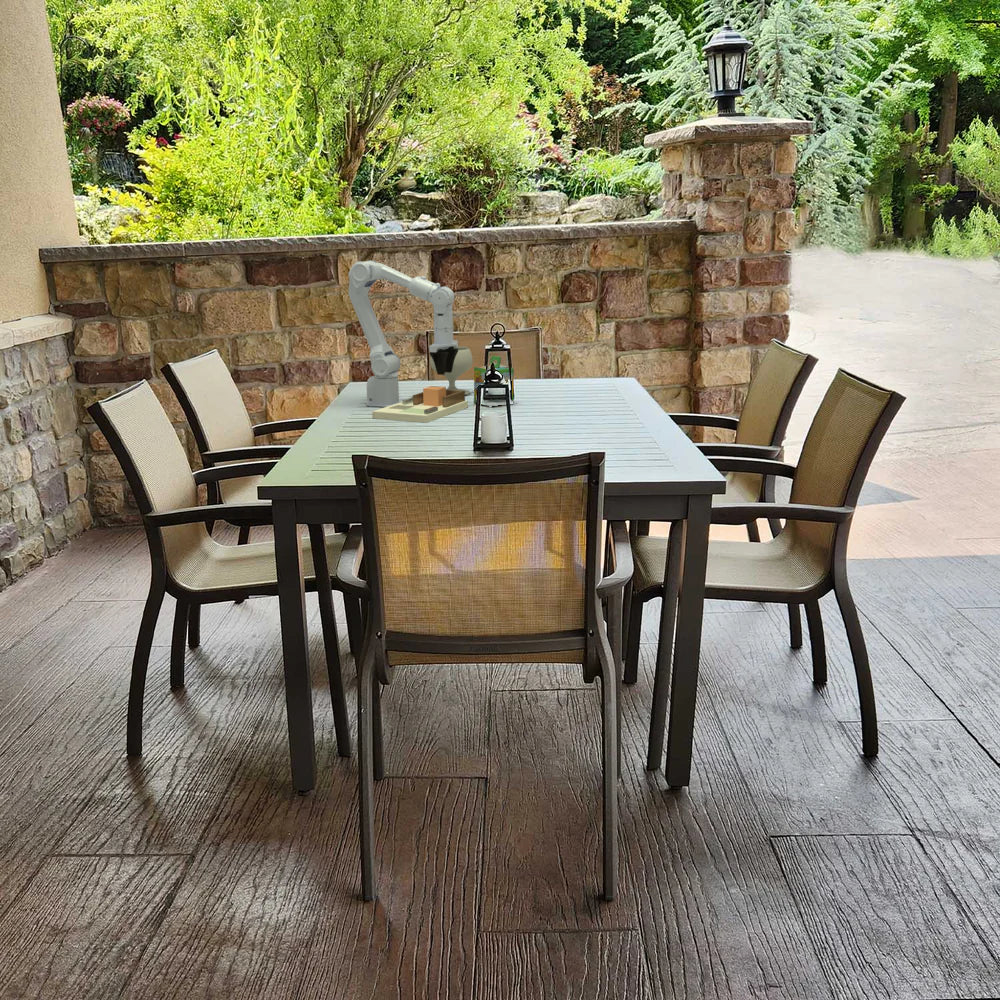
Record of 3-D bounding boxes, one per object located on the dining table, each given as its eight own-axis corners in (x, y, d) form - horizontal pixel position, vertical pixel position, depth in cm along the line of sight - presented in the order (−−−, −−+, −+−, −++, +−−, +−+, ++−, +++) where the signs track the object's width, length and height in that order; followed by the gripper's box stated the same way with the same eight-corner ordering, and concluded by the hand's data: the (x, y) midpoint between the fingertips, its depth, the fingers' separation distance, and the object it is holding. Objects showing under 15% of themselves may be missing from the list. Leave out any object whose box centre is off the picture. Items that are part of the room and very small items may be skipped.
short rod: (424, 414, 286) (424, 409, 286) (434, 410, 291) (434, 406, 291) (427, 414, 286) (427, 410, 285) (437, 410, 291) (437, 406, 291)
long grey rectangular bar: (402, 404, 302) (402, 400, 302) (417, 399, 310) (417, 395, 309) (411, 404, 301) (411, 401, 300) (426, 400, 308) (426, 396, 308)
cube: (423, 405, 300) (423, 388, 299) (431, 402, 304) (431, 386, 303) (438, 406, 298) (437, 389, 297) (446, 403, 302) (445, 387, 301)
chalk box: (473, 404, 313) (472, 356, 309) (496, 400, 318) (496, 353, 314) (491, 408, 306) (490, 359, 302) (514, 404, 311) (514, 356, 307)
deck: (372, 418, 292) (372, 411, 291) (416, 403, 314) (416, 397, 314) (426, 422, 284) (426, 415, 284) (468, 407, 307) (467, 400, 306)
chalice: (426, 392, 335) (425, 347, 331) (467, 389, 339) (466, 345, 335) (436, 398, 322) (435, 352, 318) (478, 396, 326) (477, 349, 322)
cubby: (413, 405, 300) (412, 395, 300) (433, 398, 311) (433, 388, 310) (445, 407, 296) (445, 397, 295) (465, 400, 307) (464, 390, 306)
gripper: (443, 331, 293) (444, 377, 297) (466, 326, 306) (467, 370, 309) (422, 330, 296) (424, 376, 299) (445, 325, 308) (446, 369, 312)
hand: (444, 373), depth 305 cm, fingers open, 4 cm apart
